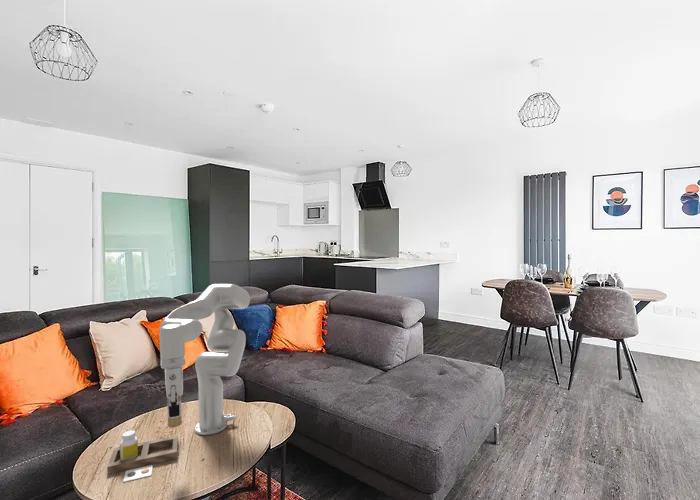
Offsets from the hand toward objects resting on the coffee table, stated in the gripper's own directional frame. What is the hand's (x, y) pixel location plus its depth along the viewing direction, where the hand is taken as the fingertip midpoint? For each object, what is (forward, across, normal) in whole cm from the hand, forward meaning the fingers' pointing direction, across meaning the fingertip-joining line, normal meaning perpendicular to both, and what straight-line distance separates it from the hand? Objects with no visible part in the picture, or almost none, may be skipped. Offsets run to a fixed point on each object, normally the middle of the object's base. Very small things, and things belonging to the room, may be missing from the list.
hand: (174, 412), depth 124 cm
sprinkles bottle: (+5, 0, 0) cm, 5 cm away
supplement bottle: (+19, +10, +16) cm, 27 cm away
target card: (+19, 0, +12) cm, 22 cm away
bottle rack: (+19, +10, +10) cm, 24 cm away
